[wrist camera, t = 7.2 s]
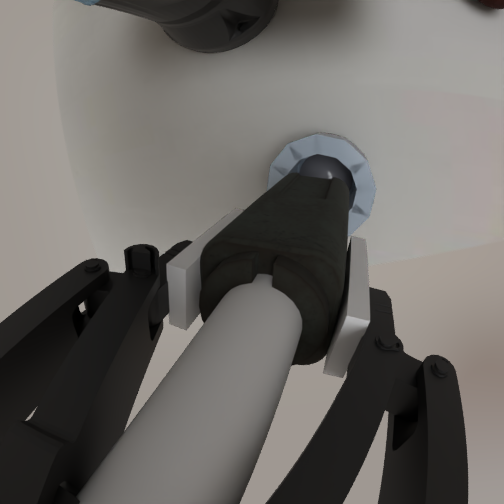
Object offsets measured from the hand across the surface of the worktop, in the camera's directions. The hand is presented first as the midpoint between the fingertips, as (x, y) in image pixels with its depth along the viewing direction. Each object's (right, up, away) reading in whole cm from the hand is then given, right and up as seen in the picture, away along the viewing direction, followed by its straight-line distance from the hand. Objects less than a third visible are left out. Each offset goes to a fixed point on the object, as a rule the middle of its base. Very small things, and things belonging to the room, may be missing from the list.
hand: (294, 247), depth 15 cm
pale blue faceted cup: (+6, +8, +18) cm, 21 cm away
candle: (+2, +3, +6) cm, 7 cm away
